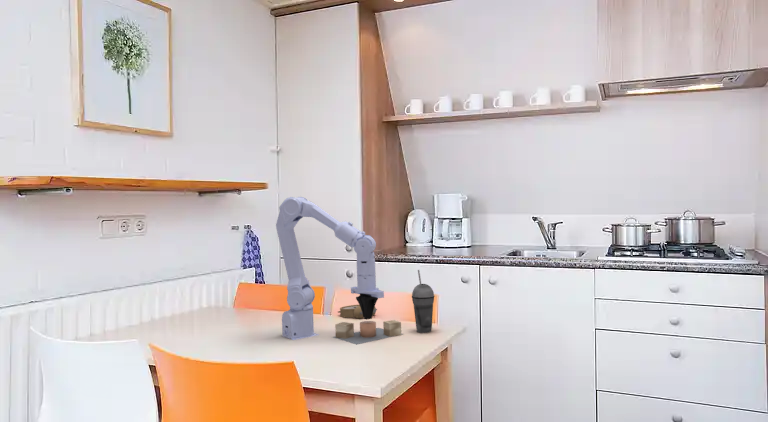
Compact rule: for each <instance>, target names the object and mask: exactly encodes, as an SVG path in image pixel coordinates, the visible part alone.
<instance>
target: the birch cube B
mask: <svg viewBox="0 0 768 422" xmlns="http://www.w3.org/2000/svg"><path fill="white" fill-rule="evenodd" d="M383 329H384V335H387V336H389V338H393V337H392V336H394V337H398V335H399V336H402V335H401V333H402V322H401V321H399V320H396V319H392V320H391V319H390V320H385V321H383Z"/></svg>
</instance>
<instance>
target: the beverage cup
mask: <svg viewBox="0 0 768 422" xmlns="http://www.w3.org/2000/svg"><path fill="white" fill-rule="evenodd" d="M417 274H418V281H419V284H417V285H416V286H415V287H414V288H413V290H412V292H411V298H412V304H413V310H414V318H415V319H414V321H415V327H416V332H417V333H420V334H426V333H427V334H429V333H431V332H432V329H433V315H434V314H433V313H434V312H433V311H434V302H435V292H434V290H433V288H432V287H431V286H430V285H429V284H427V283H422V278H421V273H420V269H417Z"/></svg>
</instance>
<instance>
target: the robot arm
mask: <svg viewBox="0 0 768 422" xmlns="http://www.w3.org/2000/svg"><path fill="white" fill-rule="evenodd" d="M278 208H279V210H278V211H279V213H278V214H277V215H278V216H277V219H276V223H275V229H276V232H277V236H278V237H277V238H278V241H279V246H280V249H281V254H282V258H283V261H284V267H285V271H286V274H287V279H288V283H287V287H286V290H287V298H286V302H287V304H288V306H289V310H286V311H284V312H283V313H282V315H281V329H282V330H281V331H282V335H281V337H283V338H286V339H289V340H292V341H297V340H301V339H306V338H307V339H308V338H311V337H312V338H313V337H317V336H319V335H320V334H319V333H315V330H314V329H315V327H314V326H315V324H314V323H315V321H314V306H313V304H312V303H313V302H314V300H315V297H316V295H315V290H314V288H312V286H311V284H310V280H308V278H307V277H306V276H305V275H306V274H305V270H304V266H303V262H302V258H301V254H300V250H299V245H298V242H297V238H296V233H295V227H296V225H297V224H298V223H299V221H300V220H301V219H302V218H305V217H306V218H313V219H315V220H316V221H318V222H320V223H321V224H323V226H326V227H327V228H328V229H329V228H330V229H331V230H332V231H334V236H335V238H337V239H338V240H340V241H341V242H343V243H345V244H346V245H347V246H348V247H350V248H353V251H354V252H355V254H356V280H357V281H356V282H357V284H356V285H357V286H351V287H350V294H353V295H354V294H356V295H358V296H356V297H355V300H356V301H357V303H358V305H360V307H361V310H362V313H363V317H364V318H363V320H365V321H368V320H371V319H372V318H373V316H372V315H373V310H374V307H375V308H376V304H377V301H378V300H379V299H382V298H385V292H384V290H380V289H379V287H377V279H376V275H377V274H376V259H375V249H376V246H377V243H376V239H374V238H373V237H372V235H369V234H366V231H361V230H359V229H358V228H357V227H355V226H354V223H352V222H351V221H346V220H345V221H339V220H338V219H336V218H335V217H334V216H332V215H331V214H330V213H328V212H327V211H326V210H324V208H323V209H322V207H320V206H319V205H317V204H316V203H315V202H312V201H311V200H308V199H307V198H306V197H303V196H296V197H295V196H290V197H287V198H285V199H284V200H283V202H281V204H280V205H279V207H278Z"/></svg>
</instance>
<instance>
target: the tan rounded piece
mask: <svg viewBox="0 0 768 422" xmlns="http://www.w3.org/2000/svg"><path fill="white" fill-rule="evenodd" d="M376 328H377V322H376V321H374V320H364V321H360V322H359V332H360V336H361V337H366V338H368V337H375V336H376Z"/></svg>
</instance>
